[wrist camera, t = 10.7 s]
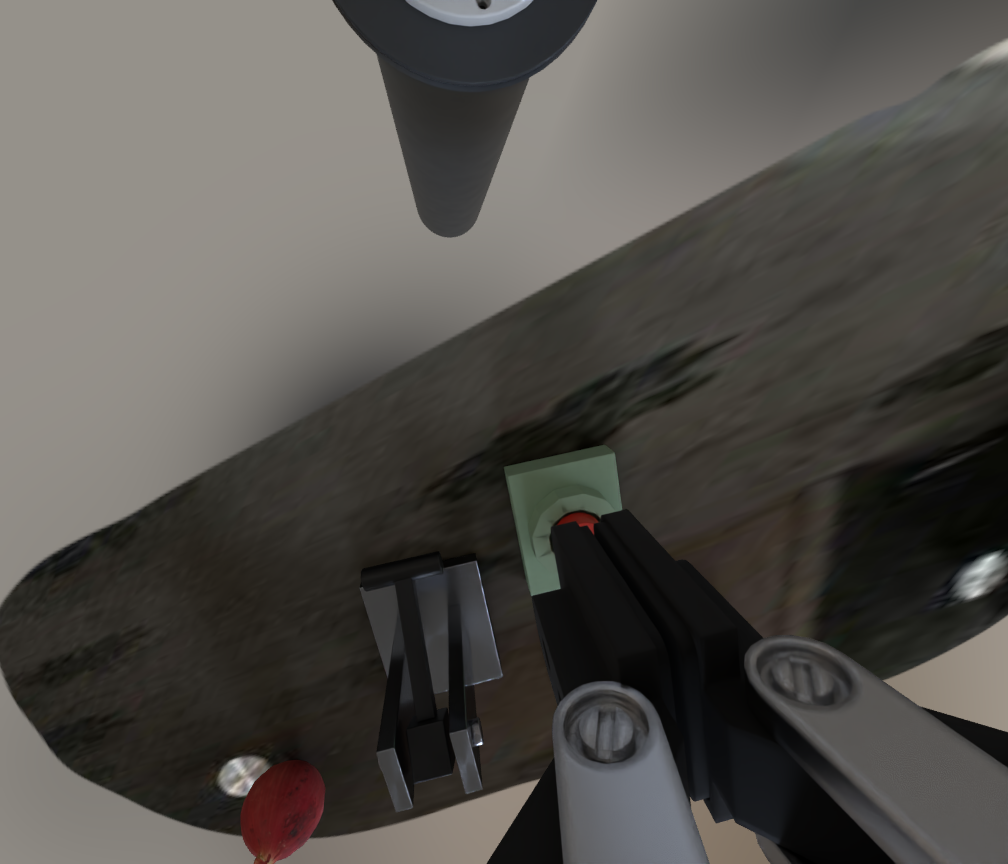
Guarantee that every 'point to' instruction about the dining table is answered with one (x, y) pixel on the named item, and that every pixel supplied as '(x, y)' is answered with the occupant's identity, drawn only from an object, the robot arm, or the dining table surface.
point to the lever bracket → (435, 668)
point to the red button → (580, 520)
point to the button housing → (558, 503)
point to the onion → (282, 810)
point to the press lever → (417, 665)
